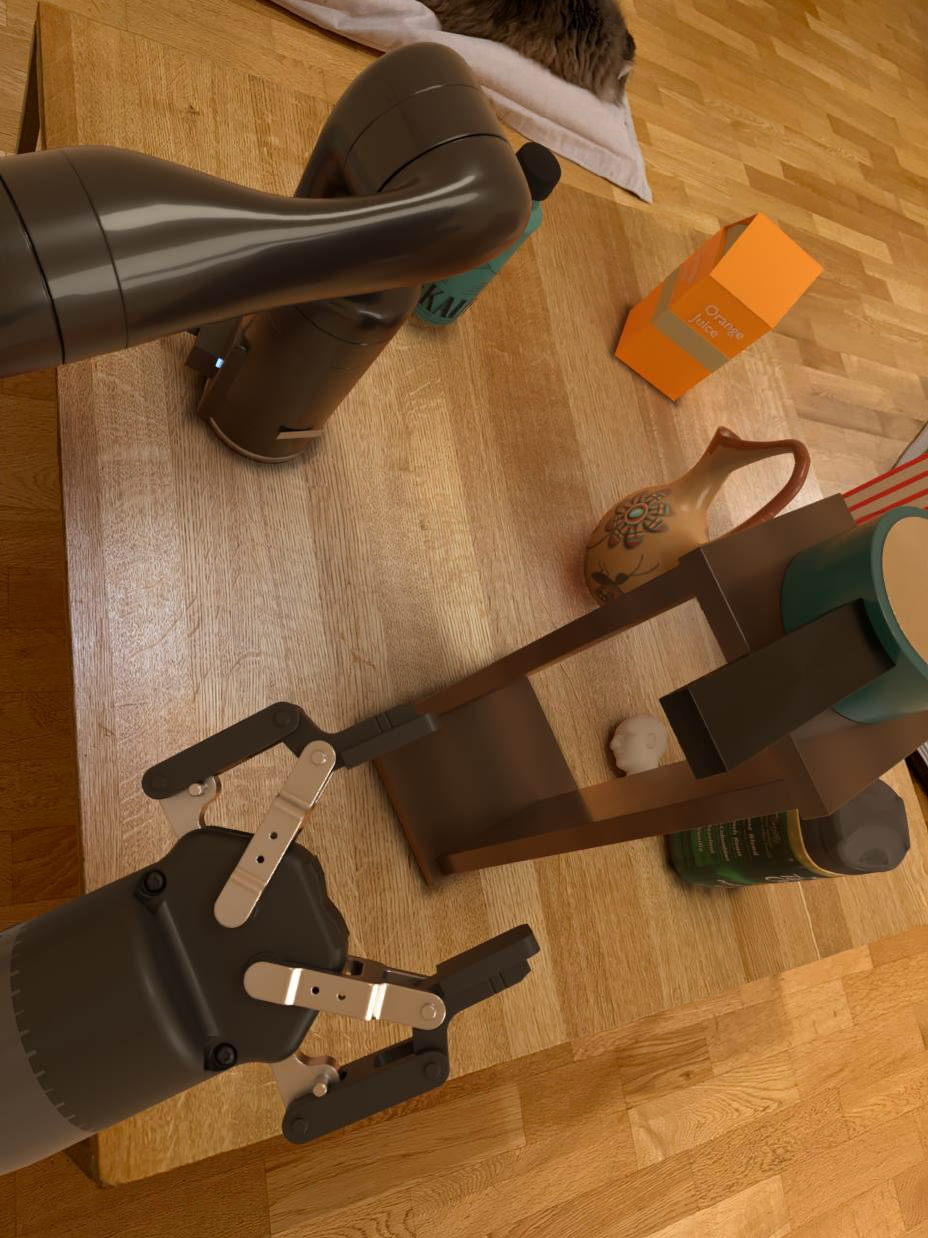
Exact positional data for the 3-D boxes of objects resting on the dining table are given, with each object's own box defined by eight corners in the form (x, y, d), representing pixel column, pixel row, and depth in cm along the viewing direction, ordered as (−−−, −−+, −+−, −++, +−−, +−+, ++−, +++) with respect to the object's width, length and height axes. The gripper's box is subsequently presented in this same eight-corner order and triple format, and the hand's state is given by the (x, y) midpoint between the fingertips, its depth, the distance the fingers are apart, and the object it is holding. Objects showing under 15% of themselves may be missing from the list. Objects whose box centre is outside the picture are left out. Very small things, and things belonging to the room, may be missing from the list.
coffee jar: (667, 888, 82) (843, 868, 67) (660, 797, 85) (827, 758, 70) (747, 893, 86) (929, 875, 71) (738, 807, 89) (911, 771, 74)
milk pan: (679, 863, 36) (782, 848, 32) (579, 647, 36) (667, 605, 32) (933, 687, 48) (1032, 660, 43) (853, 528, 48) (943, 486, 44)
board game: (715, 555, 99) (950, 434, 77) (756, 562, 102) (994, 448, 80) (749, 747, 93) (1017, 674, 71) (792, 748, 96) (1062, 679, 74)
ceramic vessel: (627, 670, 88) (850, 577, 67) (549, 633, 84) (759, 523, 64) (646, 526, 95) (852, 403, 75) (575, 486, 92) (770, 347, 72)
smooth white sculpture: (607, 716, 86) (658, 732, 87) (594, 798, 82) (648, 814, 83) (624, 699, 82) (678, 715, 83) (612, 784, 78) (669, 800, 79)
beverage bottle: (416, 266, 90) (532, 110, 74) (464, 317, 91) (589, 175, 75) (378, 297, 87) (492, 140, 70) (429, 350, 88) (553, 208, 72)
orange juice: (629, 309, 105) (765, 186, 89) (687, 356, 108) (829, 245, 91) (613, 355, 101) (752, 235, 85) (674, 402, 104) (820, 295, 88)
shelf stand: (428, 886, 70) (829, 816, 41) (359, 727, 72) (699, 546, 42) (575, 802, 80) (990, 694, 50) (512, 663, 81) (879, 476, 51)
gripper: (104, 1285, 28) (587, 1043, 30) (-66, 845, 30) (405, 637, 31) (168, 1172, 36) (553, 983, 37) (30, 824, 37) (407, 657, 39)
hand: (485, 825), depth 34 cm, fingers open, 8 cm apart
